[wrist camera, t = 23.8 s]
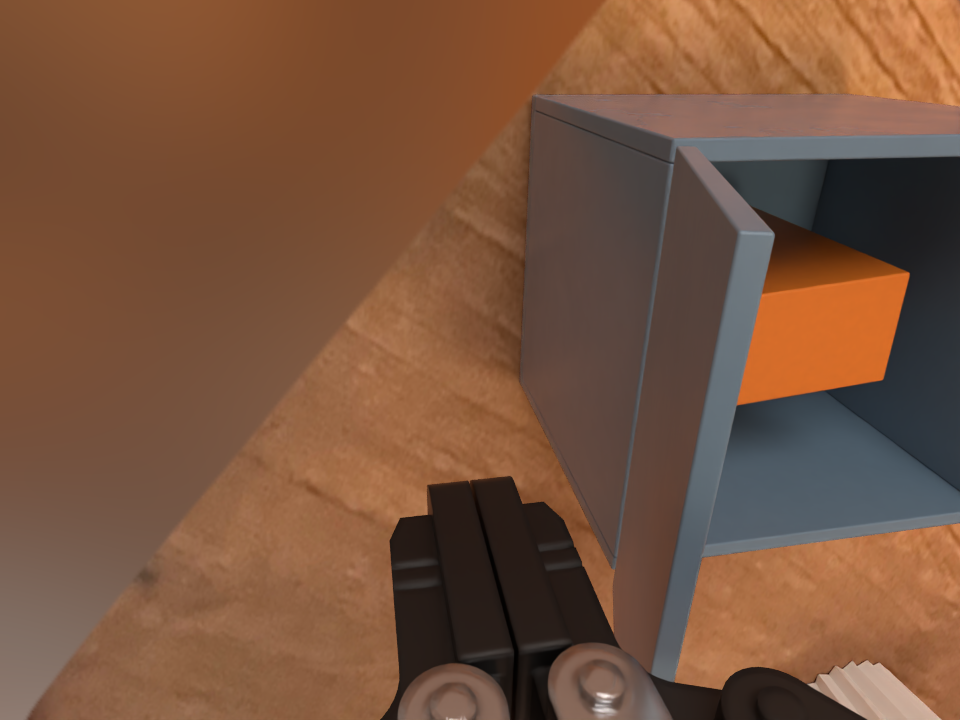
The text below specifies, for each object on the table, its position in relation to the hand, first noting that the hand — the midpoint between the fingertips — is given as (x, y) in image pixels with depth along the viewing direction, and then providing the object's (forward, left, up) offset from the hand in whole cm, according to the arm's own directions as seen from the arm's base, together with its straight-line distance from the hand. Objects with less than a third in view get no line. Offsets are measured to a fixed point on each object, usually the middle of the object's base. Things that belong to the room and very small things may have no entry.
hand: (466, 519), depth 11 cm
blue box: (+11, 0, -16) cm, 19 cm away
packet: (+11, 0, -15) cm, 19 cm away
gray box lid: (+4, 0, 0) cm, 4 cm away
